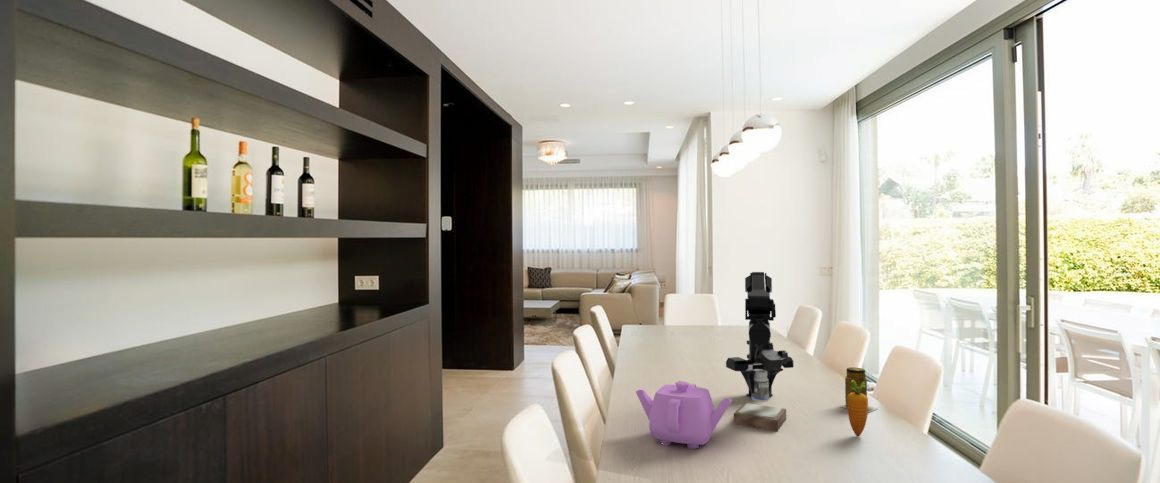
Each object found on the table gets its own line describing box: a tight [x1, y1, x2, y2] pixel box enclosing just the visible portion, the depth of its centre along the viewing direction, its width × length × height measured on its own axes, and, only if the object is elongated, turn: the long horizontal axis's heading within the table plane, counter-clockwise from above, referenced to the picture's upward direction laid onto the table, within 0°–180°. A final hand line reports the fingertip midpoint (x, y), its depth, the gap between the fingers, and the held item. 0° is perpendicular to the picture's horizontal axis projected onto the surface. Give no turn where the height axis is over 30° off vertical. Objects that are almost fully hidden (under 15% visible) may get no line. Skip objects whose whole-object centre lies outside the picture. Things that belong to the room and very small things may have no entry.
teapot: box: [635, 380, 732, 450], centre depth 140 cm, size 19×18×15 cm
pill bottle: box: [751, 369, 770, 403], centre depth 154 cm, size 5×5×8 cm
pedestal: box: [733, 402, 787, 432], centre depth 154 cm, size 12×12×3 cm
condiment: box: [840, 366, 879, 413], centre depth 166 cm, size 7×8×12 cm
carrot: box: [846, 380, 869, 437], centre depth 141 cm, size 5×5×15 cm
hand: (760, 392), depth 154 cm, fingers closed on pill bottle, 5 cm apart
